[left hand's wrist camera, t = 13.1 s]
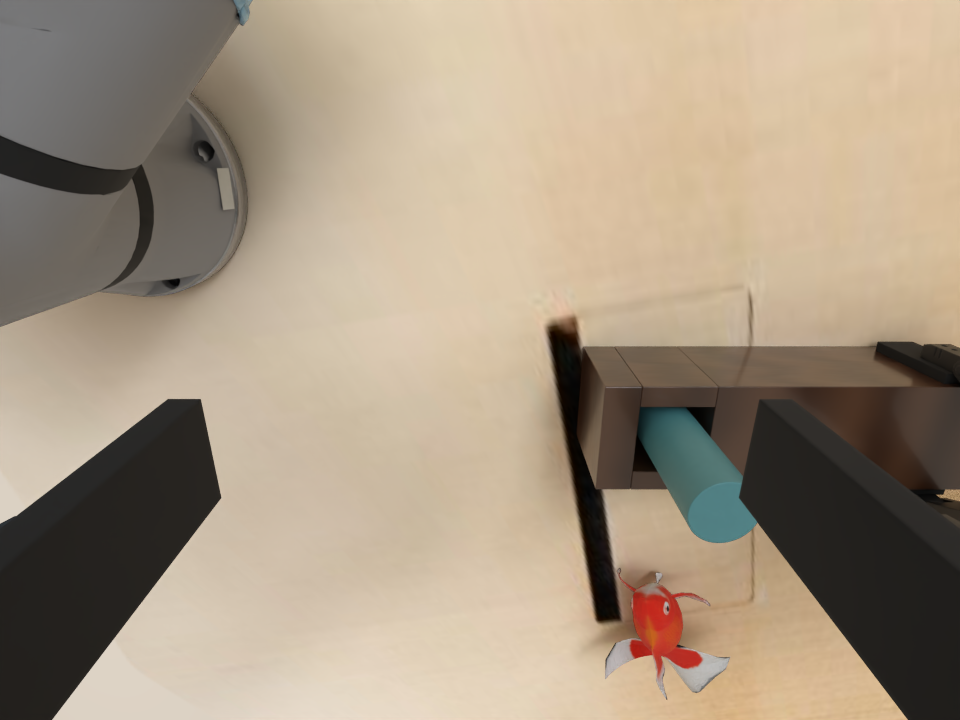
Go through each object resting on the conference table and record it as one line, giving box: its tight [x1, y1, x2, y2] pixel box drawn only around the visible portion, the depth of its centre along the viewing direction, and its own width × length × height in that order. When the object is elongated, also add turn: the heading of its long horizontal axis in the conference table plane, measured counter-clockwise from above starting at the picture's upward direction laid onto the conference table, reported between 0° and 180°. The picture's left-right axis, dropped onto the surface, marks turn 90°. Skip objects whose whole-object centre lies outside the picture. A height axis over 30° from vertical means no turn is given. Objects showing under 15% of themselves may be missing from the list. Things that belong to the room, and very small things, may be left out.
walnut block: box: [577, 347, 960, 489], centre depth 40 cm, size 28×8×8 cm, turn 90°
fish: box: [605, 568, 730, 699], centre depth 48 cm, size 11×16×10 cm
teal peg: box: [637, 407, 757, 543], centre depth 36 cm, size 4×4×15 cm
